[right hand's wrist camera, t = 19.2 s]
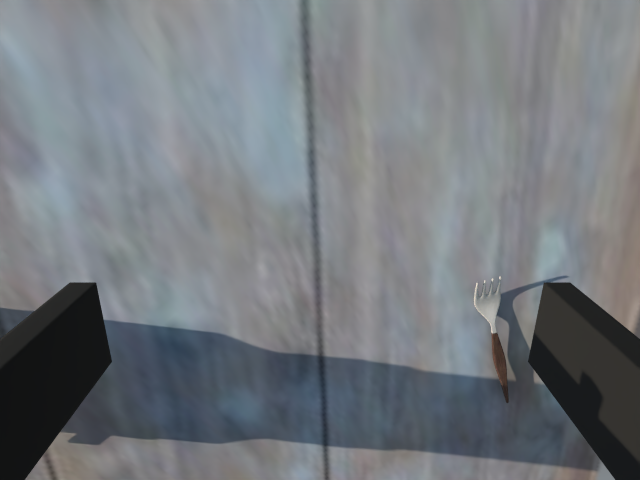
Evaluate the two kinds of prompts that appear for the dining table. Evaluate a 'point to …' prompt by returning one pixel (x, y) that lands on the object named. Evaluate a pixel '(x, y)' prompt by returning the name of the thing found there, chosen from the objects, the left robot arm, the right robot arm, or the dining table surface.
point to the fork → (493, 328)
